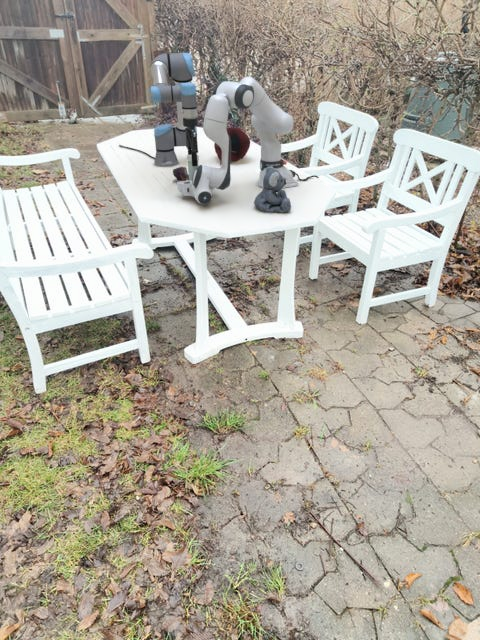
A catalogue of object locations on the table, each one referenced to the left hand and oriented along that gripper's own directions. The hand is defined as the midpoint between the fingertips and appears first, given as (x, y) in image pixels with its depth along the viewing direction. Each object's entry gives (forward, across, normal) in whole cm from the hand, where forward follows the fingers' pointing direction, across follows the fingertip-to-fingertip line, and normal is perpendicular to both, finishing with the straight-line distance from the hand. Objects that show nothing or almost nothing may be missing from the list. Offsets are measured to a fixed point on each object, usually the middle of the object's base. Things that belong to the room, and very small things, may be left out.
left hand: (193, 164), depth 240 cm
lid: (-4, 0, 0) cm, 4 cm away
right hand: (+9, -1, 0) cm, 9 cm away
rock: (+15, -21, -2) cm, 26 cm away
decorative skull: (+15, -52, +41) cm, 68 cm away
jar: (+15, 0, 0) cm, 15 cm away
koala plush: (+15, +39, +29) cm, 51 cm away
